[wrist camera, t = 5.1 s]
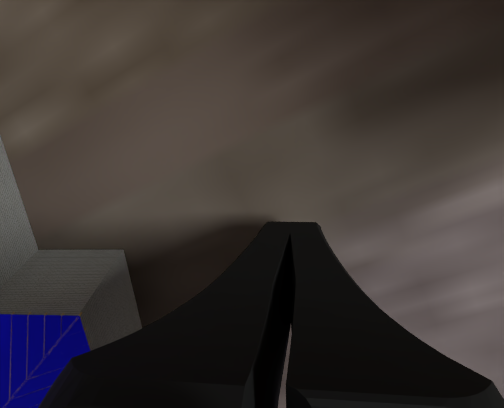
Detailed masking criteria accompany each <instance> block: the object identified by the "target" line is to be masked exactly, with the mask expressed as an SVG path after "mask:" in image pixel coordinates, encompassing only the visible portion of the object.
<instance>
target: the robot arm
mask: <svg viewBox="0 0 504 408" xmlns="http://www.w3.org/2000/svg"><path fill="white" fill-rule="evenodd" d="M290 325H291V328H292V337H291V347H290V356H289V364H288V373H287V380H286V408H504V399H503V397H502V396H501V394H500V393H499V391H498V389H497V388H496V386H495V385H494V383H493V382H492V381H491V380H489V379H487V378H486V377H484V376H482V375H480V374H478V373H476V372H474V371H473V370H471V369H469V368H467V367H465V366H463V365H461V364H459V363H458V362H456V361H454V360H452V359H450V358H448V357H446V356H445V355H443V354H441V353H440V352H438V351H437V350H435V349H434V348H432V347H431V346H429V345H427V344H426V343H424V342H423V341H421V340H420V339H418V338H417V337H415V336H414V335H413V334H411V333H410V332H408V331H407V330H406V329H404V328H403V327H402V326H401V325H399V324H398V323H397V322H396V321H394V320H393V319H392V318H390V317H389V316H388V315H387V314H386V313H384V312H383V311H382V310H381V309H380V308H379V307H378V306H377V305H376V304H375V303H374V302H373V301H372V300H371V299H370V298H369V297H368V296H367V295H366V294H365V293H364V292H363V291H362V290H361V288H360V287H359V286H358V285H357V284H356V283H355V281H354V280H353V279H352V278H351V276H350V275H349V274H348V273H347V271H346V270H345V269H344V267H343V266H342V264H341V263H340V262H339V260H338V259H337V257H336V256H335V254H334V253H333V251H332V249H331V248H330V246H329V244H328V242H327V241H326V239H325V237H324V235H323V232H322V230H321V227H320V226H319V225H318V224H317V223H316V222H267V223H266V224H265V225H264V226H263V228H262V229H261V230H260V232H259V233H258V234H257V236H256V237H255V238H254V240H253V241H252V242H251V243H250V245H249V246H248V247H247V248H246V249H245V250H244V251H243V253H242V254H241V255H240V256H239V257H238V258H237V259H236V260H235V262H234V263H233V264H232V265H231V266H230V267H229V268H228V269H226V270H225V271H224V272H223V273H222V274H221V275H220V276H219V277H218V278H217V279H216V280H215V281H214V282H213V283H212V284H210V285H209V286H208V287H207V288H206V289H204V290H203V291H202V292H201V293H199V294H198V295H197V296H195V297H194V298H192V299H191V300H190V301H188V302H186V303H185V304H183V305H182V306H180V307H179V308H177V309H175V310H174V311H172V312H171V313H169V314H167V315H166V316H164V317H163V318H161V319H159V320H157V321H155V322H153V323H152V324H150V325H148V326H146V327H144V328H142V329H140V330H138V331H136V332H134V333H132V334H130V335H128V336H125V337H123V338H121V339H119V340H116V341H114V342H111V343H109V344H106V345H104V346H101V347H99V348H96V349H94V350H91V351H89V352H86V353H84V354H81V355H78V356H75V357H72V358H71V359H70V361H69V362H68V364H67V365H66V366H65V368H64V369H63V370H62V372H61V373H60V374H59V376H58V377H57V378H56V380H55V381H54V383H53V384H52V386H51V388H50V389H49V391H48V392H47V394H46V395H45V397H44V399H43V400H42V402H41V403H40V405H39V407H38V408H278V400H279V393H280V387H281V381H282V375H283V368H284V362H285V356H286V350H287V344H288V338H289V331H290Z"/></svg>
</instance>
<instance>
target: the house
mask: <svg viewBox="0 0 504 408" xmlns="http://www.w3.org/2000/svg"><path fill="white" fill-rule="evenodd" d="M140 329H142V325H141V321H140V317H139V313H138V308H137V304H136V300H135V296H134V291H133V287H132V283H131V279H130V274H129V270H128V266H127V262H126V258H125V253H124V249H100V250H38V247H37V244H36V241H35V238H34V235H33V232H32V229H31V226H30V223H29V220H28V217H27V214H26V211H25V208H24V205H23V202H22V199H21V196H20V193H19V190H18V187H17V184H16V181H15V178H14V175H13V172H12V169H11V166H10V163H9V160H8V157H7V154H6V151H5V148H4V145H3V142H2V139H1V136H0V408H38V407H39V405H40V403H41V402H42V400H43V399H44V397H45V395H46V394H47V392H48V391H49V389H50V388H51V386H52V384H53V383H54V381H55V380H56V378H57V377H58V376H59V374H60V373H61V372H62V370H63V369H64V368H65V366H66V365H67V364H68V362H69V361H70V359H71V358H72V357H75V356H78V355H81V354H84V353H86V352H89V351H91V350H94V349H96V348H99V347H101V346H104V345H106V344H109V343H111V342H114V341H116V340H119V339H121V338H123V337H125V336H128V335H130V334H132V333H134V332H136V331H138V330H140Z"/></svg>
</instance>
